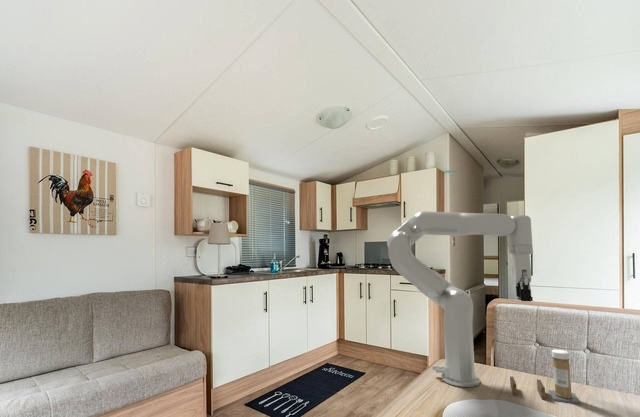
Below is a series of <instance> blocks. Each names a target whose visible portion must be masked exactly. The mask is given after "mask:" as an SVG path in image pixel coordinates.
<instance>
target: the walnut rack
mask: <svg viewBox="0 0 640 417" xmlns="http://www.w3.org/2000/svg"><path fill="white" fill-rule="evenodd" d="M509 381H510V382H509V384H510V389H511V392H512V395H513V396H514V397H515V396H516V397H517V396H518V392H517V383H516V380H515V377H514V376H509ZM536 390H537V393H538V395H539V396H540V398H541V400H545V401H546V400H547V399H546V387H545V385H544V383H543V382H542V380H541V379H539V378H537V379H536Z"/></svg>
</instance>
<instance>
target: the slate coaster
mask: <svg viewBox="0 0 640 417" xmlns="http://www.w3.org/2000/svg"><path fill="white" fill-rule="evenodd" d="M547 390H548V391H547V392H548V394H549V395H550V397H551V398H552V401H554V402H561V403H568V404H577V405H582V402H581V400H580V399H579V397H577V395H576V393H574V392H571V393H572V398H562V397H559V396H557V395H556V394H555V390H551V389H547Z"/></svg>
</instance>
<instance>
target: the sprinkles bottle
mask: <svg viewBox="0 0 640 417" xmlns="http://www.w3.org/2000/svg"><path fill="white" fill-rule="evenodd" d="M551 357H552V365H553V366H552V369H553V381H554V382H553V383H554V391H555V394H556V395H557V396H559V397H562V398H572V393H573V392H572V381H571V380H572V379H571V370H570V353H569V351H567V350H564V349H552V350H551Z"/></svg>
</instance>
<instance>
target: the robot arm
mask: <svg viewBox="0 0 640 417" xmlns="http://www.w3.org/2000/svg"><path fill="white" fill-rule="evenodd" d="M424 235H433V236H435V235H436V236H454V237H457V236H459V237H460V236H461V237H462V236H464V237H465V236H475V235H479V236H481V235H482V236H483V235H484V236H491V237H507V241H508V244H507V245H508V254H509V255H511V279H512V281H513V282H515V283H516V284H515V293H516V294H515V295H516V297H517V298H520V301H521V302H532V300H533V299H532V290H531V284H530V283H531V282H532V268H531V267H532V266H531V256H530V255H533V254H534V248H533V231H532V219H531V217H530V216H529V215H523V214H522V215H521V214H520V215H519V214H518V215H508V214H506V213H490V212H487V213H486V212H485V213H484V212H483V213H482V212H481V213H480V212H479V213H477V212H476V213H475V212H456V211H455V212H453V211H452V212H450V211H449V212H448V211H446V212H445V211H419V212H417V213H415V214H413V215H411V217H409V219H408V220H406V221H405V222H404V223H403V224H401V225H400V226H399V227H398V228H397V229H395V230H394V231H393V232H392V233H391V234H390V235H389V236H388V237H387V241H386V246H387V248H388V252H387V253H388V258H389V261H390V263H391V266H392V268H394V270H395V271H396V272H397V273H398V274H399V275H400V276H402V278H404V279H405V280H407V282H409V283H410V284H412V285H413V286H414V287H416V289H417V290H418V291H419V292H420V293H421V294H423V295H424V296H426V297H427V298H428V299H429V300H431V301H432V302H433V303H435V304H436V305H437V306H439V307H441V309H443V310H444V317H443V334H444V355H445V358H444V359H445V362H444V365H443V364H441V365H438V364H437V365H436V364H433V365H432V371H434V372H435V373H436V374H437V373H439V374H441V375H440V376H441V380H442V381H443V382H445V383H447V384H448V385H452V386H454V387H455V386H456V387H461V388H472V387H476V386H479V385H480V383H481V379H480V377H479V376H477V375H476V372H475V369H476V368H475V352H474V351H475V350H474V348H475V347H474V333H473V328H474V327H473V318H474V302H473V300H472V297H471V295H470V294H468V293H467V292H466V291H465V290H463V289H460V288H458V287H456V286H455V285H453V283H450V282H449V281H448V280H447V279H445V278H444V277H443V276H442V275H441V274H440V273H439V272H437V271H436V270H434V269H431V267H429V266H428V265H426V263H423V262H422V261H421V260H420V259H418V258H417V257H416V256H415V255H414V253H413V250H412V246H413V245H414V244H415V243H416V242H417V241H419V239H421V238H422V237H423V236H424Z"/></svg>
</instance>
